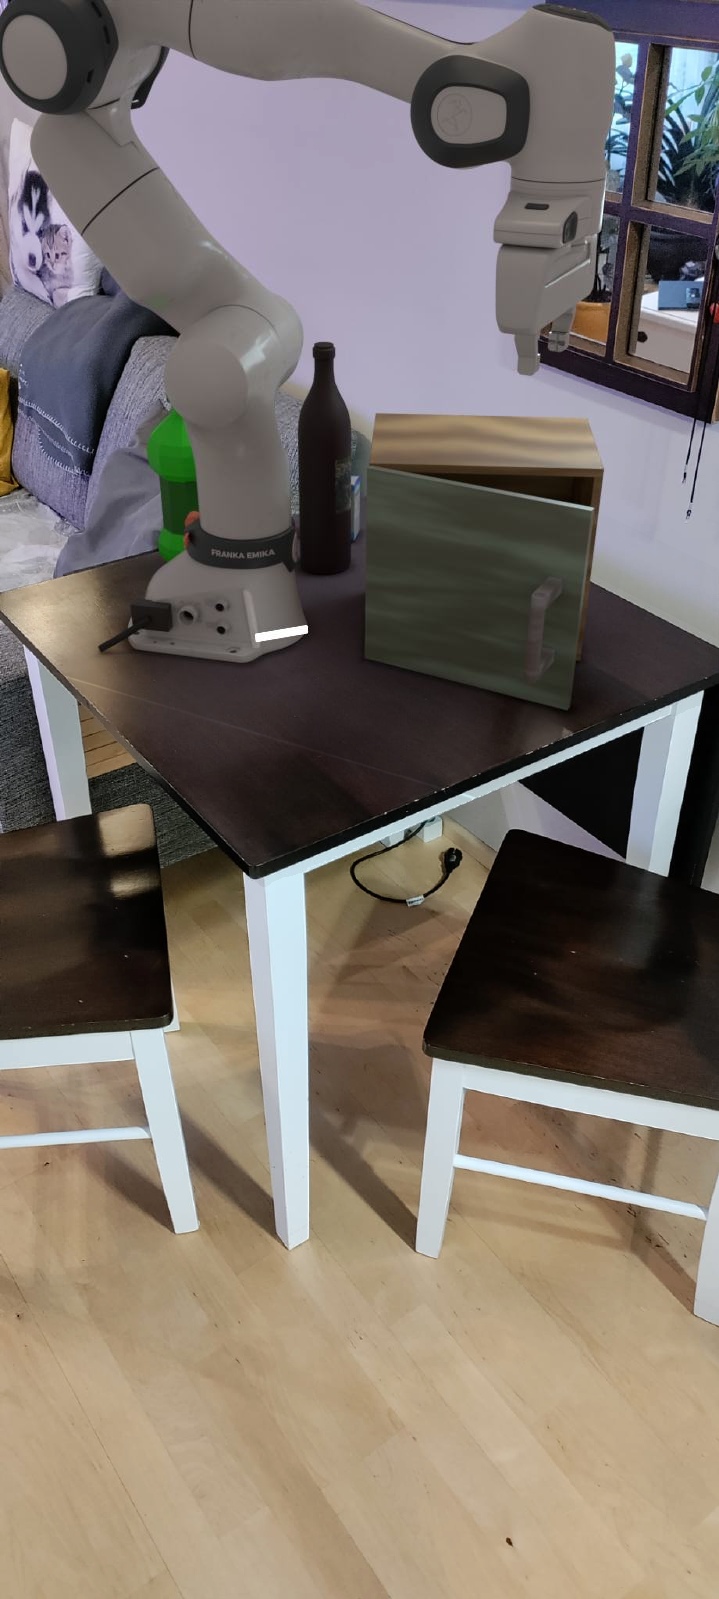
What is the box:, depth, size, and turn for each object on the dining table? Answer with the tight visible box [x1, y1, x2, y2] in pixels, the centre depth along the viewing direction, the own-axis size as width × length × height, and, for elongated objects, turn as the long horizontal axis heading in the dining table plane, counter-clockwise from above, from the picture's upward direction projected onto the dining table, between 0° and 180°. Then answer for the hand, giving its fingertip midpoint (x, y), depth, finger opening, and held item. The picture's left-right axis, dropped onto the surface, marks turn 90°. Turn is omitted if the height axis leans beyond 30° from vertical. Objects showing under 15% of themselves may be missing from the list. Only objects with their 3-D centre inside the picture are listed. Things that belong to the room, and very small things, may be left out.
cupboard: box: [368, 412, 605, 661], centre depth 149 cm, size 18×26×24 cm
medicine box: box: [351, 475, 361, 542], centre depth 177 cm, size 8×4×9 cm, turn 80°
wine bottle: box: [297, 341, 352, 575], centre depth 162 cm, size 7×7×30 cm
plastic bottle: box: [146, 393, 199, 563], centre depth 162 cm, size 10×10×25 cm
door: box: [364, 465, 595, 711], centre depth 134 cm, size 7×26×24 cm, turn 62°
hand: (543, 361), depth 122 cm, fingers open, 8 cm apart
